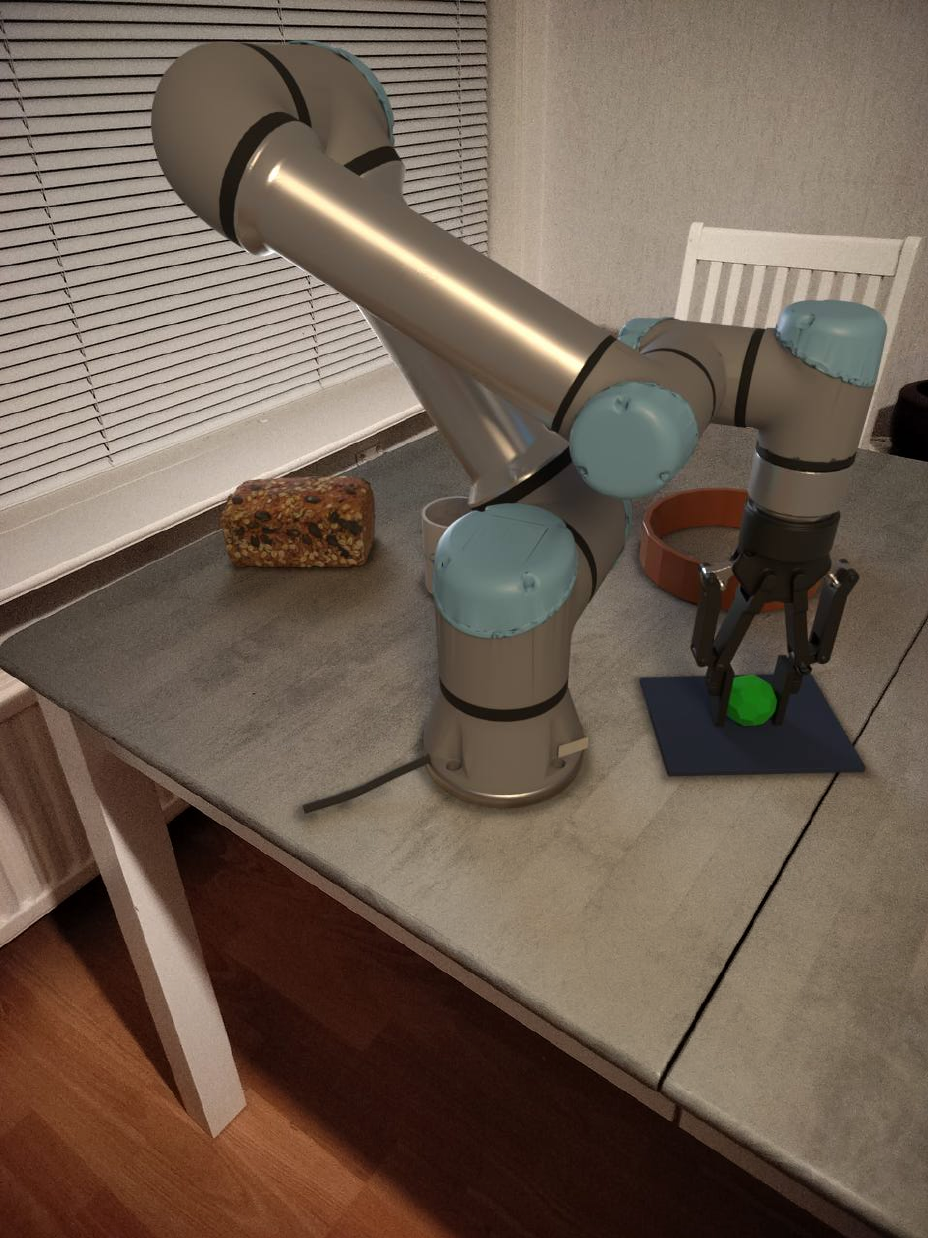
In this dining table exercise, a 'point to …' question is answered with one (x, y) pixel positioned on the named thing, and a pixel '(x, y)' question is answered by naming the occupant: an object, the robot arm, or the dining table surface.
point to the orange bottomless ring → (686, 512)
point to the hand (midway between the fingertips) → (745, 716)
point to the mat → (746, 733)
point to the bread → (300, 522)
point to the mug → (439, 527)
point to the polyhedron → (751, 701)
